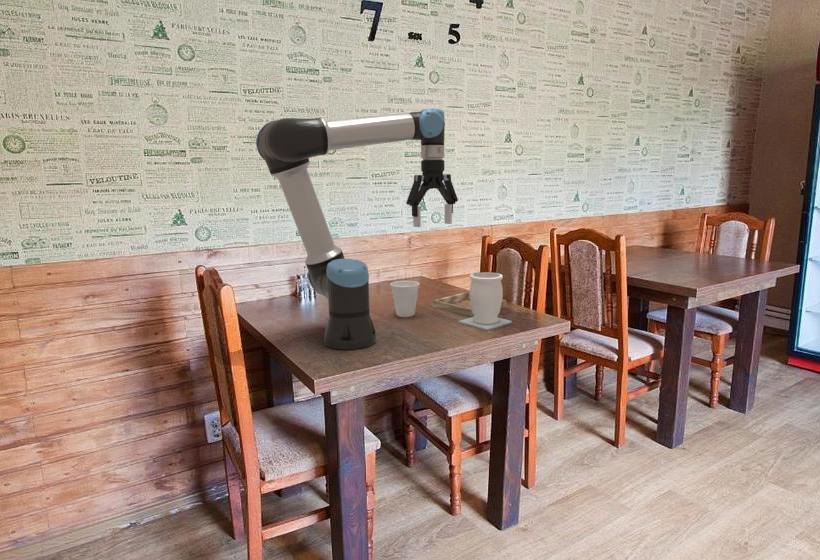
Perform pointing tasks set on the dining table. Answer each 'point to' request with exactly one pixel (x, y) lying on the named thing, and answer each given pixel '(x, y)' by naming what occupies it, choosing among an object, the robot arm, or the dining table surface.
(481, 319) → the jar
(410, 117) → the robot arm
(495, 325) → the mat
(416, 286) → the cup
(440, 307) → the square wooden frame
